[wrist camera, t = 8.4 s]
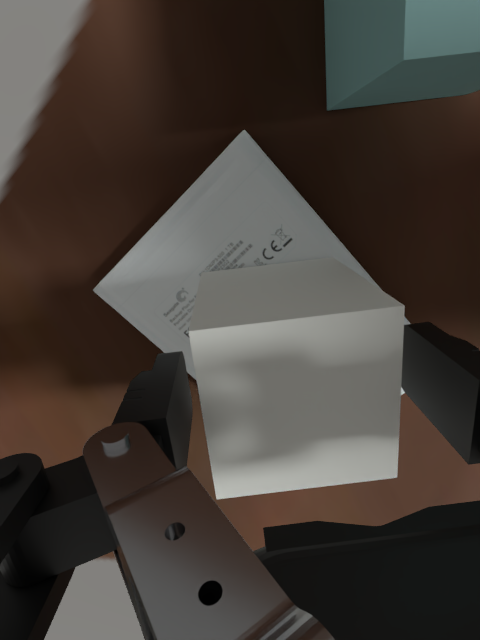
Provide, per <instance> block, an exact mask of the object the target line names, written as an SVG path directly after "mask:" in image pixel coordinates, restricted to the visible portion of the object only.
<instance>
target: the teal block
mask: <svg viewBox="0 0 480 640" xmlns="http://www.w3.org/2000/svg"><path fill="white" fill-rule="evenodd" d="M324 14H325V53H326V92H327V111H328V110H337V109H346V108H355V107H363V106H372V105H381V104H390V103H398V102H407V101H416V100H424V99H433V98H442V97H451V96H459V95H467V94H469V93H472V92H475V91H478V90H480V0H324Z"/></svg>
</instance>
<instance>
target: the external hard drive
mask: <svg viewBox="0 0 480 640" xmlns="http://www.w3.org/2000/svg"><path fill="white" fill-rule="evenodd" d="M330 257H333V258H335V259H336V260H338V261H339V262H341V263H342V264H344V265H345V266H347V267H348V268H350V269H351V270H353V271H354V272H356V273H357V274H359V275H360V276H362V277H363V278H364V279H366V280H367V281H369V282H370V283H372V284H373V285H375V286H376V287H378V288H379V289H381V288H380V287H379V286H378V285H377V284H376V282H375V281H374V280H373V279H372V278H371V277H370V275H369V274H368V273H367V272H366V271H365V270H364V268H363V267H362V266H361V265H360V264H359V263H358V261H357V260H356V259H355V258H354V257H353V256H352V254H351V253H350V252H349V251H348V250H347V249H346V247H345V246H344V245H343V244H342V243H341V242H340V240H339V239H338V238H337V237H336V236H335V234H334V233H333V232H332V231H331V230H330V229H329V227H328V226H327V225H326V224H325V223H324V222H323V220H322V219H321V218H320V217H319V216H318V215H317V213H316V212H315V211H314V210H313V209H312V208H311V206H310V205H309V204H308V203H307V202H306V201H305V199H304V198H303V197H302V196H301V195H300V194H299V192H298V191H297V190H296V189H295V188H294V187H293V185H292V184H291V183H290V182H289V181H288V180H287V178H286V177H285V176H284V175H283V174H282V173H281V171H280V170H279V169H278V168H277V167H276V166H275V164H274V163H273V162H272V161H271V160H270V159H269V158H268V157H267V155H266V154H265V153H264V152H263V150H262V149H261V148H260V147H259V146H258V144H257V143H256V142H255V141H254V140H253V139H252V138H251V136H250V135H249V134H248V133H247V131H246V130H243V131H242V132H241V133H240V134H239V135H238V136H237V137H236V138H235V139H234V140H233V141H232V142H231V143H230V145H229V146H228V147H227V148H226V149H225V150H224V151H223V152H222V153H221V154H220V155H219V156H218V157H217V158H216V159H215V161H214V162H213V163H212V164H211V165H210V166H209V167H208V168H207V169H206V170H205V171H204V172H203V174H202V175H201V176H200V177H199V178H198V179H197V180H196V181H195V182H194V183H193V184H192V185H191V186H190V187H189V188H188V190H187V191H186V192H185V193H184V194H183V195H182V196H181V197H180V198H179V199H178V200H177V201H176V202H175V203H174V204H173V205H172V207H171V208H170V209H169V210H168V211H167V212H166V213H165V214H164V215H163V216H162V217H161V218H160V219H159V220H158V221H157V222H156V223H155V224H154V225H153V226H152V228H151V229H150V230H149V231H148V232H147V233H146V234H145V235H144V236H143V237H142V238H141V239H140V240H139V241H138V242H137V243H136V244H135V245H134V246H133V248H132V249H131V250H130V251H129V252H128V253H127V254H126V255H125V256H124V257H123V258H122V259H121V260H120V261H119V262H118V263H117V264H116V266H115V267H114V268H113V269H112V270H111V271H110V272H109V273H108V274H107V275H106V276H105V277H104V278H103V279H102V280H101V281H100V282H99V284H98V285H97V286H96V287H95V288H94V289H93V291H94V292H95V293H96V294H97V295H98V296H99V297H101V298H102V299H103V300H104V301H105V302H106V303H108V304H109V305H110V306H111V307H112V308H114V309H115V310H116V311H117V312H118V313H120V314H121V315H122V316H123V317H124V318H125V319H126V320H127V321H128V322H130V323H131V324H132V325H133V326H134V327H135V328H136V329H138V330H139V331H140V332H141V333H142V334H144V335H145V336H146V337H147V338H148V339H149V340H150V341H151V342H153V343H154V344H155V345H156V346H157V347H158V348H160V349H161V350H162V351H163V352H164V353H170V352H178V351H182V352H183V355H184V359H185V364H186V370H187V373H189V374H190V375H191V376H192V377H193V378H194V379H195V380H196V374H195V368H194V362H193V356H192V350H191V344H190V338H189V332H188V331H189V326H190V322H191V317H192V313H193V308H194V304H195V299H196V295H197V290H198V286H199V282H200V277H201V273H202V272H210V271H219V270H227V269H236V268H244V267H253V266H261V265H270V264H278V263H287V262H296V261H304V260H313V259H321V258H330ZM381 290H382V289H381ZM407 324H411V323H410V322H409V321H408V320H407V319H406V318H405V316H404V325H407ZM404 393H405V392H404V390H403V389H402V387H401V395H402V394H404Z"/></svg>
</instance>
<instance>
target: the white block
mask: <svg viewBox="0 0 480 640" xmlns="http://www.w3.org/2000/svg"><path fill="white" fill-rule="evenodd" d="M404 312H405V306H404V305H403V304H401V303H400V302H399V301H397V300H396V299H394V298H393V297H391V296H390V295H388V294H387V293H385V292H384V291H382V290H381V289H379V288H378V287H376V286H375V285H373V284H372V283H370V282H369V281H367V280H366V279H364V278H363V277H362V276H360V275H359V274H357V273H356V272H354V271H353V270H351V269H350V268H348V267H347V266H345V265H344V264H342V263H341V262H339V261H338V260H336V259H335V258H333V257H330V258H321V259H313V260H304V261H296V262H287V263H278V264H270V265H261V266H253V267H244V268H236V269H227V270H219V271H210V272H202V273H201V277H200V282H199V286H198V290H197V295H196V299H195V304H194V308H193V313H192V317H191V322H190V326H189V331H188V332H189V338H190V344H191V350H192V356H193V362H194V368H195V374H196V380H197V386H198V392H199V397H200V403H201V409H202V415H203V421H204V427H205V433H206V439H207V445H208V451H209V457H210V463H211V469H212V475H213V481H214V487H215V493H216V499H223V498H231V497H240V496H248V495H256V494H265V493H273V492H281V491H290V490H298V489H306V488H315V487H323V486H331V485H340V484H348V483H356V482H365V481H373V480H381V479H390V478H397V470H398V448H399V425H400V402H401V380H402V357H403V335H404Z"/></svg>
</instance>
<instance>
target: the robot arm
mask: <svg viewBox="0 0 480 640" xmlns="http://www.w3.org/2000/svg"><path fill="white" fill-rule="evenodd" d="M401 387H402V389H403V390H404V392H405V393H406V394H407V395H408V396H409V397H410V399H411V400H412V401H413V402H414V403H415V404H416V405H417V406H418V408H419V409H420V410H421V411H422V412H423V413H424V414H425V416H426V417H427V418H428V419H429V420H430V421H431V422H432V424H433V425H434V426H435V427H436V428H437V429H438V430H439V431H440V433H441V434H442V435H443V436H444V437H445V438H446V439H447V441H448V442H449V443H450V444H451V445H452V446H453V447H454V449H455V450H456V451H457V452H458V453H459V454H460V455H461V456H462V458H463V459H464V460H465V461H466V462H467V463H468V464H476V463H480V351H479V349H478V348H476V347H475V346H473V345H472V344H470V343H469V342H467V341H465V340H462V339H459V338H456V337H453V336H450V335H448V334H447V333H445V332H444V331H442V330H441V329H439V328H438V327H436V326H435V325H433V324H432V323H430V322H424V323H415V324H407V325H404V335H403V357H402V380H401ZM191 423H192V399H191V393H190V387H189V381H188V376H187V370H186V364H185V359H184V355H183V352H182V351H178V352H170V353H161V354H158V355H157V357H156V360H155V363H154V365H153V368H152V370H150V371H142V372H141V373H140V374H138V375H137V376H136V377H135V378H134V379H133V380H132V381H131V382H130V385H129V387H128V389H127V393H126V394H125V396H124V398H123V401H122V403H121V405H120V407H119V409H118V412H117V414H116V416H115V419H114V421H113V423H112V425H111V426H108V427H106V428H104V429H102V430H100V431H98V432H97V433H95V434H94V435H93V436H92V437H90V438H89V440H88V441H87V442H86V443H85V445H84V448H83V455H82V456H80V457H78V458H75V459H73V460H70V461H67V462H64V463H61V464H58V465H55V466H52V467H49V468H46V469H44V466H43V463H42V460H41V459H40V457H39V456H37V455H35V454H31V453H21V454H15V455H11V456H8V457H5V458H3V459H0V640H44V638H45V636H46V634H47V631H48V629H49V627H50V625H51V622H52V620H53V618H54V615H55V613H56V611H57V609H58V606H59V604H60V602H61V600H62V597H63V595H64V593H65V591H66V588H67V586H68V584H69V581H70V579H71V577H72V574H73V572H74V569H75V567H76V566H79V565H81V564H84V563H86V562H88V561H91V560H93V559H95V558H98V557H100V556H103V555H105V554H107V553H110V552H112V551H113V552H114V555H115V558H116V561H117V563H118V566H119V569H120V571H121V574H122V577H123V580H124V583H125V585H126V588H127V590H128V594H129V596H130V599H131V602H132V605H133V607H134V610H135V613H136V615H137V618H138V621H139V624H140V627H141V630H142V633H143V636H144V639H145V640H480V501H473V502H465V503H457V504H449V505H441V506H433V507H428V508H425V509H423V510H420V511H418V512H415V513H413V514H410V515H408V516H405V517H403V518H400V519H398V520H395V521H393V522H390V523H388V524H385V525H382V526H365V525H355V524H344V523H334V522H323V521H313V522H305V523H297V524H289V525H281V526H273V527H265V528H263V529H264V538H265V547H263V548H260V549H258V550H255V551H254V552H253V551H252V549H251V548H250V547H249V546H248V544H247V543H246V542H245V540H244V539H243V538H242V537H241V535H240V534H239V533H238V531H237V530H236V529H235V527H234V526H233V525H232V524H231V522H230V521H229V520H228V518H227V517H226V516H225V514H224V513H223V512H222V511H221V509H220V508H219V507H218V505H217V504H216V503H215V501H214V500H213V499H212V498H211V496H210V495H209V494H208V492H207V491H206V490H205V489H204V487H203V486H202V485H201V483H200V482H199V481H198V479H197V478H196V477H195V476H194V474H193V473H192V472H191V471H190V469H189V468H187V458H188V449H189V440H190V432H191Z"/></svg>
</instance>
